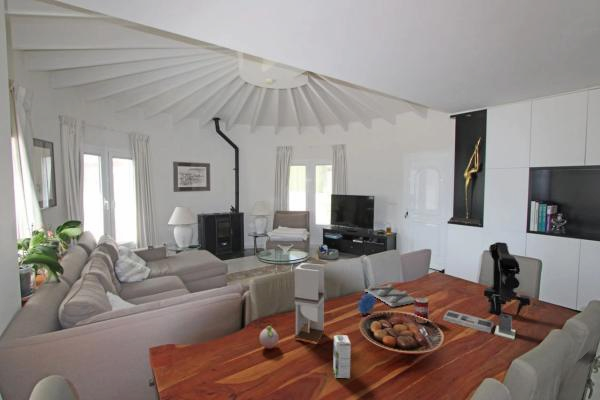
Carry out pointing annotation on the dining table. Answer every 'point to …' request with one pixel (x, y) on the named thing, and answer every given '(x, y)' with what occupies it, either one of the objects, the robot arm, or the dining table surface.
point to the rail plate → (478, 322)
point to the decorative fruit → (268, 337)
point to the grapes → (366, 303)
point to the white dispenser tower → (309, 301)
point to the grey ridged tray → (390, 295)
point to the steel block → (505, 324)
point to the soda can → (421, 307)
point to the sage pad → (505, 334)
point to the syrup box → (341, 356)
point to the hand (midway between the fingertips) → (505, 312)
